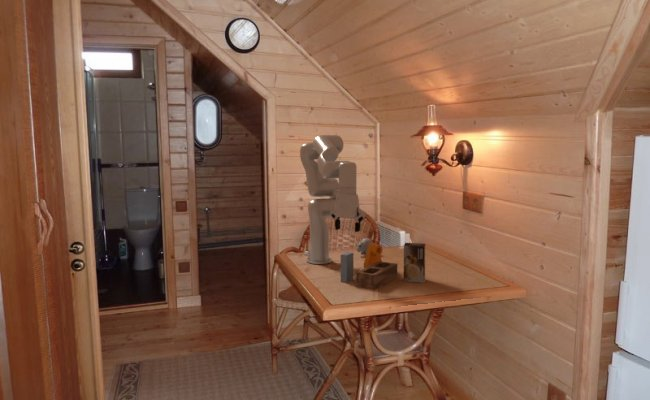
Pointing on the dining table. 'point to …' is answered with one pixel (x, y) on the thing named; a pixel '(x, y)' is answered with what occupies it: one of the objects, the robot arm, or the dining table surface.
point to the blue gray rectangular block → (347, 267)
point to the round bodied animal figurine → (363, 245)
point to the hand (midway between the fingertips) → (347, 230)
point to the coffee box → (414, 262)
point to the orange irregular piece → (373, 254)
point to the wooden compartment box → (376, 275)
